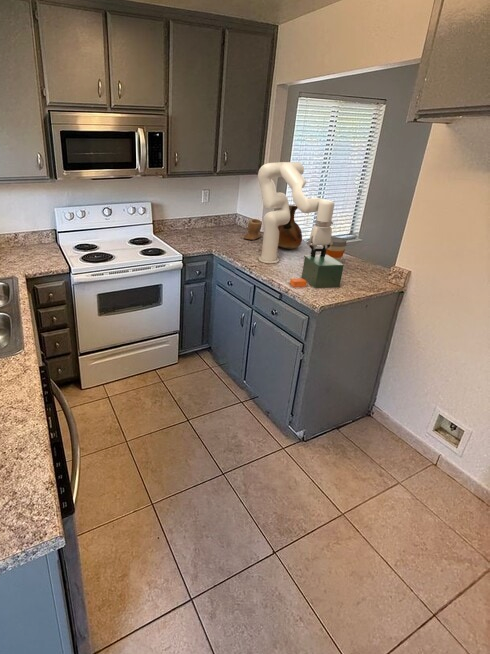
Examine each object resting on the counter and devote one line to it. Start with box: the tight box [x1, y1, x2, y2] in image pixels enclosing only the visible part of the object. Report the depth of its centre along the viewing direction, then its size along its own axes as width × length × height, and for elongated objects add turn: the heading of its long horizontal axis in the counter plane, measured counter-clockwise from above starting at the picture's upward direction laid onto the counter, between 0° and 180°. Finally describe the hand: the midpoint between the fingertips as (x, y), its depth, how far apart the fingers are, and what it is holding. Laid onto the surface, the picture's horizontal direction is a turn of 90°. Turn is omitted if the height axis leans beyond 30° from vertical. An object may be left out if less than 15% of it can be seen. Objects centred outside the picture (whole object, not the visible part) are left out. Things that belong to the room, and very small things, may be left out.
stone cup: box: [243, 218, 263, 241], centre depth 272 cm, size 15×12×15 cm
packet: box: [289, 277, 308, 288], centre depth 190 cm, size 7×4×3 cm, turn 96°
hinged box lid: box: [303, 247, 345, 267], centre depth 190 cm, size 16×14×5 cm
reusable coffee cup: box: [326, 236, 347, 263], centre depth 221 cm, size 13×13×15 cm
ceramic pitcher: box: [278, 204, 303, 250], centre depth 249 cm, size 20×20×30 cm
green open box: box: [301, 257, 345, 289], centre depth 193 cm, size 16×14×12 cm
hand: (317, 255), depth 196 cm, fingers closed on hinged box lid, 5 cm apart
